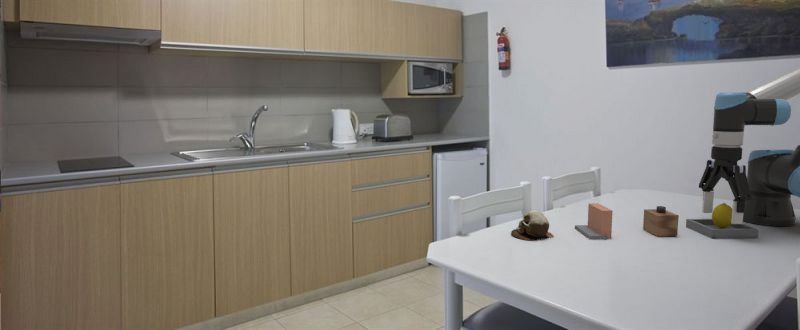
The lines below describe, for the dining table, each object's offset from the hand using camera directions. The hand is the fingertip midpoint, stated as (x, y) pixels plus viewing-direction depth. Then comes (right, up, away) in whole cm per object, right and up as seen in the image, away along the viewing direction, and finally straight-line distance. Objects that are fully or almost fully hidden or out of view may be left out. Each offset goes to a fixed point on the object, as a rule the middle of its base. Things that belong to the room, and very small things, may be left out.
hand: (721, 218), depth 149 cm
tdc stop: (-38, -5, 0) cm, 38 cm away
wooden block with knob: (-18, -4, 0) cm, 19 cm away
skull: (-56, -5, -1) cm, 56 cm away
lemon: (0, -4, 0) cm, 4 cm away
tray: (0, -4, +1) cm, 4 cm away
